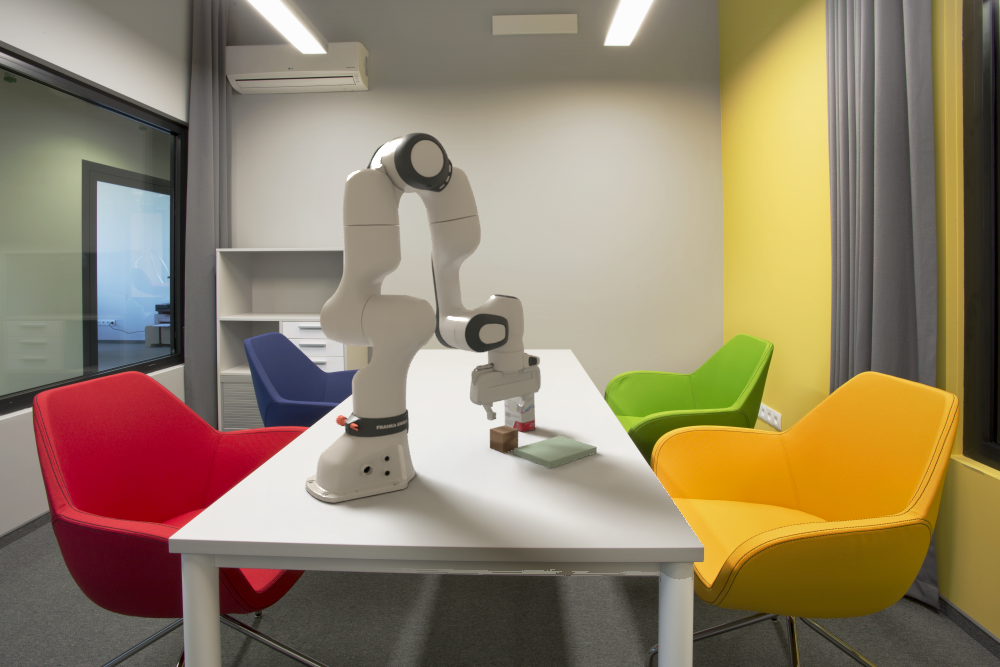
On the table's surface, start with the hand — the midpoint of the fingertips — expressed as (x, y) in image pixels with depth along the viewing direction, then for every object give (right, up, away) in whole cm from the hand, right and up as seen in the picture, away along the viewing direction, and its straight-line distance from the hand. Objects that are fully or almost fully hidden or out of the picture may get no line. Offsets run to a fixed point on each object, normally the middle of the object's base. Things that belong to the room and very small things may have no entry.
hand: (506, 415), depth 134 cm
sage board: (+12, -9, -3) cm, 15 cm away
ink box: (+4, -6, +19) cm, 20 cm away
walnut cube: (-1, -8, +1) cm, 8 cm away
